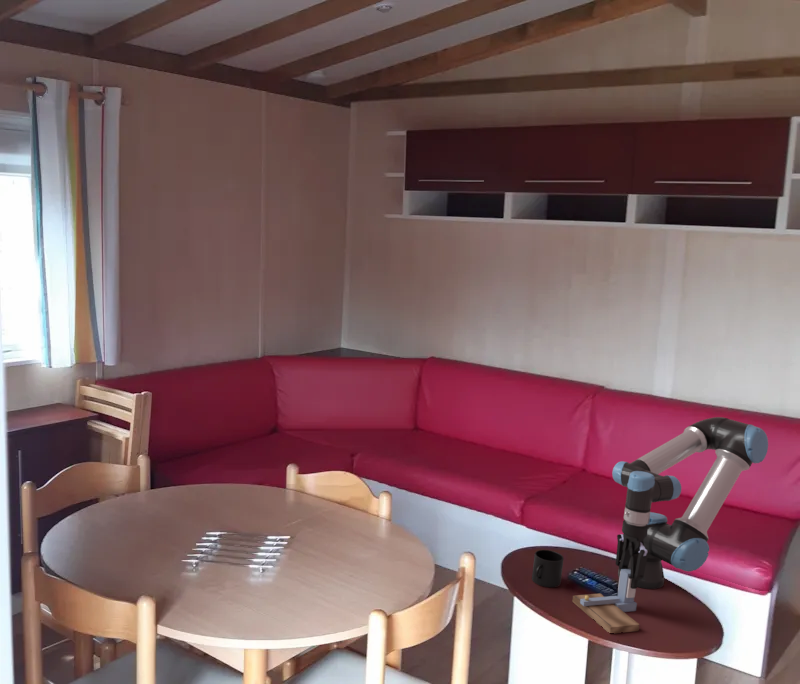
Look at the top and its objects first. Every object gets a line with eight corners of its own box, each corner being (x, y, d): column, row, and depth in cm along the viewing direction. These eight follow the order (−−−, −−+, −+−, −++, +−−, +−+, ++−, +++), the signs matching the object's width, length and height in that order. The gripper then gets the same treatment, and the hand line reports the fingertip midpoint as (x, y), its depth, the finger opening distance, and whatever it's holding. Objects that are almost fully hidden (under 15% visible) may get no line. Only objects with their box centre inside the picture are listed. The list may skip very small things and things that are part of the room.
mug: (522, 582, 253) (525, 556, 252) (541, 572, 262) (544, 547, 261) (547, 592, 247) (550, 566, 246) (565, 582, 256) (568, 556, 255)
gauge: (626, 603, 245) (630, 567, 243) (635, 610, 240) (640, 574, 238) (576, 607, 238) (581, 570, 237) (585, 615, 234) (590, 578, 232)
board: (599, 599, 246) (600, 593, 246) (638, 630, 227) (639, 624, 227) (572, 601, 242) (573, 595, 242) (609, 633, 224) (610, 627, 223)
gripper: (609, 512, 244) (600, 582, 247) (642, 532, 229) (632, 607, 232) (629, 511, 247) (620, 581, 250) (663, 531, 231) (652, 605, 234)
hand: (626, 593), depth 241 cm, fingers closed on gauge, 3 cm apart
